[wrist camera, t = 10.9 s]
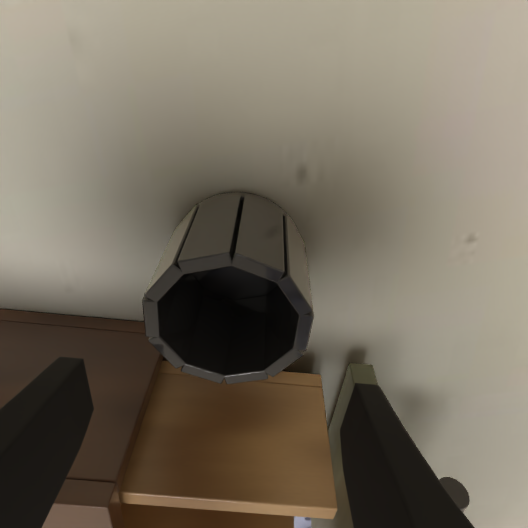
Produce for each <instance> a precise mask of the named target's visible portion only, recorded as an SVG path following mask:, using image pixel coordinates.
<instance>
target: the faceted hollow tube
mask: <svg viewBox="0 0 528 528" xmlns="http://www.w3.org/2000/svg"><path fill="white" fill-rule="evenodd" d="M142 303H143V314H144V325H145V336H146V337H149V339H148V341H149V343H150V344H151V345H152V346H153V347H154V348H155V349H156V350H157V351H158V352H159V353H160V354H161V355H162V356H163V357H164V358H165V359H166V360H167V361H168V362H169V363H170V364H171V365H172V366H173V367H174V368H176V369H177V368H179V367H181V372H183V373H187V374H190V375H193V376H196V377H199V378H203V379H206V380H209V381H212V382H216V383H219V384H221V383H222V382H223V380H224V379H225V382H226V384H235V383H243V382H251V381H259V380H266V379H268V375H270V376H271V377H274V376H276V375H277V374H278V373H280V372H281V371H282V370H284V369H285V368H287V367H288V366H289V365H291V364H292V363H293V362H295V361H296V360H297V359H299V358H300V357H301V356H303V351H306V350H307V346H308V341H309V337H310V332H311V328H312V323H313V318H314V312H313V305H312V297H311V289H310V281H309V273H308V265H307V258H306V250H305V245H304V241H303V239H302V237H301V236H300V234H299V232H298V230H297V227H296V225H295V224H294V222H293V220H292V219H291V218H290V216H289V215H288V214H287V213H286V212H285V211H284V210H283V209H282V208H281V207H279V206H278V205H277V204H275V203H274V202H272V201H270V200H268V199H266V198H264V197H261V196H258V195H255V194H250V193H243V192H229V193H222V194H218V195H215V196H212V197H210V198H207V199H205V200H203V201H201V202H200V203H199V204H196V205H195V206H194V208H193V209H192V210H191V211H190V212H189V213H188V214H187V215H186V217H185V218H184V219H183V220H182V221H181V223H180V224H179V225H178V226H177V227H176V228H175V230H174V232H173V234H172V237H171V239H170V241H169V243H168V245H167V247H166V249H165V251H164V253H163V256H162V258H161V260H160V262H159V264H158V266H157V268H156V270H155V273H154V275H153V277H152V279H151V281H150V283H149V285H148V287H147V289H146V292H145V294H144V298H143V300H142Z"/></svg>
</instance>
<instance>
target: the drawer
mask: <svg viewBox="0 0 528 528" xmlns="http://www.w3.org/2000/svg"><path fill="white" fill-rule="evenodd" d="M355 383H362V384H373V385H378V384H377V380H376V376H375V373H374V369H373V366H372V365H368V364H357V363H349V366H348V369H347V372H346V376H345V379H344V382H343V385H342V388H341V392H340V395H339V398H338V401H337V405H336V408H335V411H334V414H333V417H332V421H331V424H330V427H329V430H328V428H327V420H326V412H325V405H324V397H323V389H322V380H321V375H318V374H307V373H296V372H284V371H281V372H280V373H278V374H277V375H276V376H274V377H271V376H270V375H268V379H266V380H259V381H251V382H243V383H235V384H226V382H225V379H224V380H223V382H222V383H221V384H219V383H216V382H212V381H209V380H206V379H203V378H199V377H196V376H193V375H190V374H187V373H183V372H181V367H179V368H177V369H176V368H174V367H173V366H172V365H171V364H170V363H169V362H168V361H162V363H161V366H160V369H159V372H158V375H157V378H156V381H155V385H154V388H153V391H152V394H151V397H150V400H149V403H148V406H147V409H146V412H145V415H144V418H143V421H142V424H141V427H140V430H139V433H138V436H137V439H136V442H135V445H134V448H133V451H132V454H131V458H130V461H129V464H128V467H127V470H126V473H125V476H124V479H123V482H122V485H121V488H120V491H119V493H118V496H119V501H120V506H121V511H122V516H123V521H124V526H125V528H294V516H297V517H310V518H311V527H312V528H354V527H353V522H352V517H351V511H350V506H349V501H348V495H347V490H346V484H345V479H344V473H343V466H342V454H341V441H340V428H341V425H342V422H343V419H344V416H345V413H346V410H347V407H348V404H349V401H350V398H351V395H352V392H353V389H354V386H355ZM439 481H440V482H441V483H442V485H443V486H444V488H445V489H446V490H447V492H448V493H449V495H450V496H451V497H452V499H453V500H454V501H455V503H456V504H457V505H458V507H459V508H460V510H461V511H462V512H464V510H465V509H466V508H467V506H468V505H469V494H468V492H467V490H466V488H465V487H464V486H463V485H462V484H461V483H460V482H459V481H457V480H456V479H453V478H450V477H443V478H441V479H440V480H439Z"/></svg>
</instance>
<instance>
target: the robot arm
mask: <svg viewBox="0 0 528 528" xmlns="http://www.w3.org/2000/svg"><path fill="white" fill-rule="evenodd" d="M93 410H94V406H93V402H92V397H91V392H90V388H89V383H88V378H87V373H86V369H85V364H84V359H82V358H71V357H59V358H57V359H56V360H55V361H54V362H53V363H52V364H50V365H49V366H48V367H47V368H46V369H45V370H44V371H43V372H41V373H40V374H39V375H38V376H37V377H36V378H35V379H34V380H32V381H31V382H30V383H29V384H28V385H27V386H26V387H25V388H24V389H22V390H21V391H20V392H19V393H18V394H17V395H16V396H14V397H13V398H12V399H11V400H10V401H9V402H8V403H6V404H5V405H4V406H3V407H2V408H1V409H0V528H42V526H43V524H44V522H45V520H46V518H47V516H48V514H49V512H50V510H51V508H52V506H53V504H54V502H55V499H56V497H57V495H58V493H59V491H60V489H61V487H62V485H63V483H64V481H65V479H66V477H67V475H68V473H69V471H70V469H71V467H72V464H73V462H74V460H75V458H76V456H77V454H78V452H79V450H80V447H81V445H82V442H83V439H84V437H85V434H86V431H87V428H88V425H89V422H90V419H91V416H92V413H93ZM340 441H341V454H342V466H343V473H344V479H345V484H346V490H347V495H348V501H349V506H350V511H351V517H352V522H353V527H354V528H474V526H473V525H472V524H471V523H470V521H469V520H468V519H467V517H466V516H465V515H464V513H463V512H462V511H461V510H460V508H459V507H458V505H457V504H456V503H455V501H454V500H453V499H452V497H451V496H450V495H449V493H448V492H447V490H446V489H445V488H444V486H443V485H442V483H441V482H440V481H439V479H438V478H437V476H436V475H435V473H434V472H433V471H432V469H431V468H430V466H429V465H428V463H427V462H426V460H425V459H424V457H423V456H422V454H421V453H420V451H419V450H418V448H417V447H416V445H415V444H414V442H413V440H412V439H411V437H410V436H409V434H408V433H407V431H406V429H405V428H404V426H403V425H402V423H401V421H400V420H399V418H398V416H397V415H396V413H395V412H394V410H393V408H392V407H391V405H390V403H389V401H388V400H387V398H386V396H385V395H384V393H383V391H382V390H381V388H380V387H379V386H378V385H373V384H362V383H355V386H354V389H353V392H352V395H351V398H350V401H349V404H348V407H347V410H346V413H345V416H344V419H343V422H342V425H341V428H340ZM294 528H312V527H311V518H310V517H297V516H294Z"/></svg>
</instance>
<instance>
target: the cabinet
mask: <svg viewBox="0 0 528 528" xmlns="http://www.w3.org/2000/svg"><path fill="white" fill-rule="evenodd" d="M148 339H149V337H146V336H145V325H144V322H137V321H126V320H115V319H105V318H94V317H83V316H72V315H61V314H50V313H39V312H28V311H17V310H6V309H0V409H1V408H2V407H3V406H4V405H5V404H6V403H8V402H9V401H10V400H11V399H12V398H13V397H14V396H16V395H17V394H18V393H19V392H20V391H21V390H22V389H24V388H25V387H26V386H27V385H28V384H29V383H30V382H31V381H32V380H34V379H35V378H36V377H37V376H38V375H39V374H40V373H41V372H43V371H44V370H45V369H46V368H47V367H48V366H49V365H50V364H52V363H53V362H54V361H55V360H56V359H57V358H59V357H71V358H82V359H84V364H85V369H86V373H87V378H88V383H89V388H90V392H91V397H92V402H93V406H94V410H93V413H92V416H91V419H90V422H89V425H88V428H87V431H86V434H85V437H84V439H83V442H82V445H81V447H80V450H79V452H78V454H77V456H76V458H75V460H74V462H73V464H72V467H71V469H70V471H69V473H68V475H67V477H66V479H65V481H64V483H63V485H62V487H61V489H60V491H59V493H58V495H57V497H56V499H55V502H54V504H53V506H52V508H51V510H50V512H49V514H48V516H47V518H46V520H45V522H44V524H43V526H42V528H125V526H124V521H123V516H122V511H121V506H120V501H119V496H118V493H119V491H120V488H121V485H122V482H123V479H124V476H125V473H126V470H127V467H128V464H129V461H130V458H131V454H132V451H133V448H134V445H135V442H136V439H137V436H138V433H139V430H140V427H141V424H142V421H143V418H144V415H145V412H146V409H147V406H148V403H149V400H150V397H151V394H152V391H153V388H154V385H155V381H156V378H157V375H158V372H159V369H160V366H161V363H162V361H167V360H166V359H165V358H164V357H163V356H162V355H161V354H160V353H159V352H158V351H157V350H156V349H155V348H154V347H153V346H152V345H151V344H150V343H149V341H148Z"/></svg>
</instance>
